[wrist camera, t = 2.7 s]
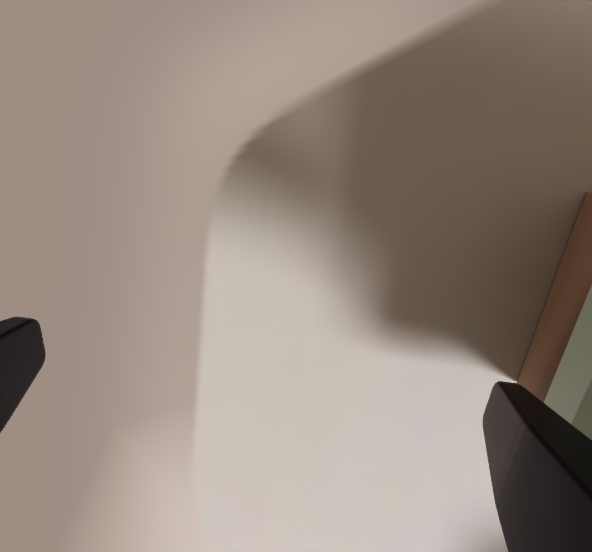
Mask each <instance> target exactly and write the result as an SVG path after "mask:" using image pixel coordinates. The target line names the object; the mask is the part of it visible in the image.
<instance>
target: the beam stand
mask: <svg viewBox="0 0 592 552" xmlns="http://www.w3.org/2000/svg"><path fill="white" fill-rule="evenodd" d="M591 285H592V193H586V195H585V197H584V200H583V203H582V206H581V208H580V211H579V214H578V217H577V219H576V222H575V225H574V227H573V230H572V233H571V236H570V238H569V241H568V244H567V247H566V249H565V252H564V255H563V258H562V260H561V263H560V266H559V268H558V271H557V274H556V277H555V279H554V282H553V285H552V288H551V290H550V293H549V296H548V299H547V301H546V304H545V307H544V309H543V312H542V315H541V318H540V320H539V323H538V326H537V329H536V331H535V334H534V337H533V339H532V342H531V345H530V348H529V350H528V353H527V356H526V359H525V361H524V364H523V367H522V370H521V372H520V375H519V378H518V380H517V384H520V385H522V386H523V387H524V388H526V389H527V390H528V391H529V392H531V393H532V394H533V395H535V396H536V397H537V398H538V399H540V400H541V401H542V402H543V403H544V401H545V398H546V396H547V393H548V391H549V388H550V386H551V383H552V381H553V378H554V376H555V374H556V371H557V369H558V366H559V364H560V361H561V359H562V356H563V354H564V352H565V349H566V347H567V344H568V342H569V339H570V337H571V334H572V332H573V329H574V327H575V325H576V322H577V320H578V317H579V315H580V312H581V310H582V307H583V305H584V303H585V300H586V298H587V295H588V293H589V290H590V288H591Z"/></svg>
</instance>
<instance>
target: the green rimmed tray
mask: <svg viewBox="0 0 592 552" xmlns="http://www.w3.org/2000/svg"><path fill="white" fill-rule="evenodd" d="M544 403H545V404H546V405H547V406H549V407H550V408H551V409H552V410H554V411H555V412H556V413H558V414H559V415H560V416H561V417H563V418H564V419H565V420H566V421H568V422H569V423H570V424H572V425H573V426H574V427H575V428H577V429H578V430H579V431H581V432H582V433H583V434H584V435H586V436H587V437H588V438H589V439H591V440H592V285H591V288H590V290H589V293H588V295H587V298H586V300H585V303H584V305H583V307H582V310H581V312H580V315H579V317H578V320H577V322H576V325H575V327H574V329H573V332H572V334H571V337H570V339H569V342H568V344H567V347H566V349H565V352H564V354H563V356H562V359H561V361H560V364H559V366H558V369H557V371H556V374H555V376H554V378H553V381H552V383H551V386H550V388H549V391H548V393H547V396H546V398H545V401H544Z"/></svg>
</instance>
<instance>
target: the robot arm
mask: <svg viewBox="0 0 592 552" xmlns="http://www.w3.org/2000/svg"><path fill="white" fill-rule="evenodd" d="M44 361H45V348H44V343H43V338H42V333H41V328H40V324H39V323H38V321H37V320H35V319H31V318H24V317H13V318H9V319H6V320H3V321H0V432H1V431H2V430H3V428H4V427H5V425H6V423H7V422H8V420H9V419H10V417H11V416H12V414H13V413H14V411H15V409H16V408H17V406H18V405H19V403H20V401H21V399H22V398H23V396H24V395H25V393H26V392H27V390H28V388H29V387H30V385H31V383H32V382H33V380H34V379H35V377H36V375H37V374H38V372H39V371H40V369H41V367H42V366H43V363H44ZM483 431H484V437H485V443H486V450H487V456H488V462H489V468H490V475H491V481H492V487H493V493H494V499H495V504H496V508H497V512H498V516H499V520H500V523H501V527H502V530H503V534H504V538H505V541H506V545H507V548H508V552H592V440H591V439H589V438H588V437H587V436H586V435H584V434H583V433H582V432H581V431H579V430H578V429H577V428H575V427H574V426H573V425H572V424H570V423H569V422H568V421H566V420H565V419H564V418H563V417H561V416H560V415H559V414H558V413H556V412H555V411H554V410H552V409H551V408H550V407H549V406H547V405H546V404H545V403H543V402H542V401H541V400H540V399H538V398H537V397H536V396H535V395H533V394H532V393H531V392H529V391H528V390H527V389H526V388H524V387H523V386H522V385H520V384H517V383H510V382H502V381H499V382H497V383H495V385H494V386H493V388H492V391H491V394H490V397H489V400H488V403H487V406H486V409H485V412H484V415H483Z"/></svg>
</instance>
